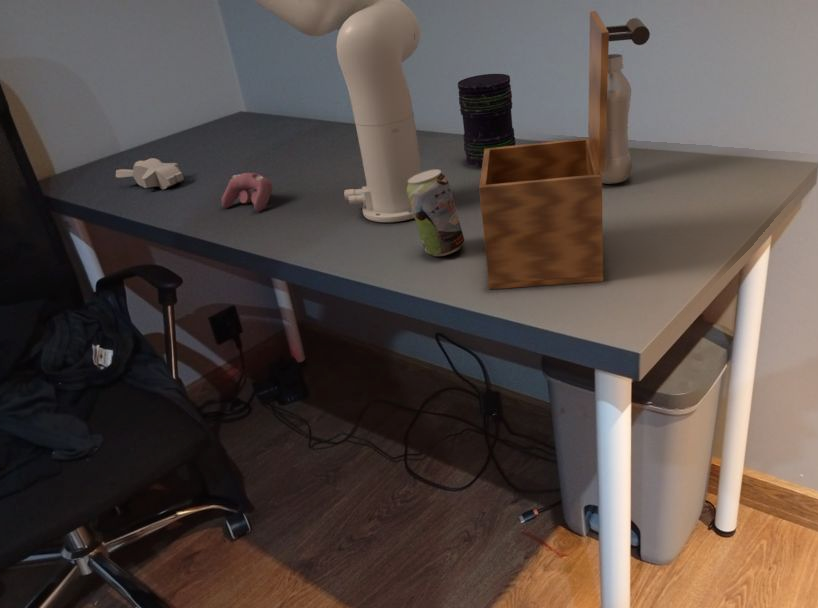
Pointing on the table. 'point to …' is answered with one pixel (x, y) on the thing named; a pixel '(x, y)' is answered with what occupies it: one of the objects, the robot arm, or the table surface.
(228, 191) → the video game controller
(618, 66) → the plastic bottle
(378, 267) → the table surface
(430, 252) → the beverage can
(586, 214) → the chest
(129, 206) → the table surface
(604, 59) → the chest lid
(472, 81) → the storage jar
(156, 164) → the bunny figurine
